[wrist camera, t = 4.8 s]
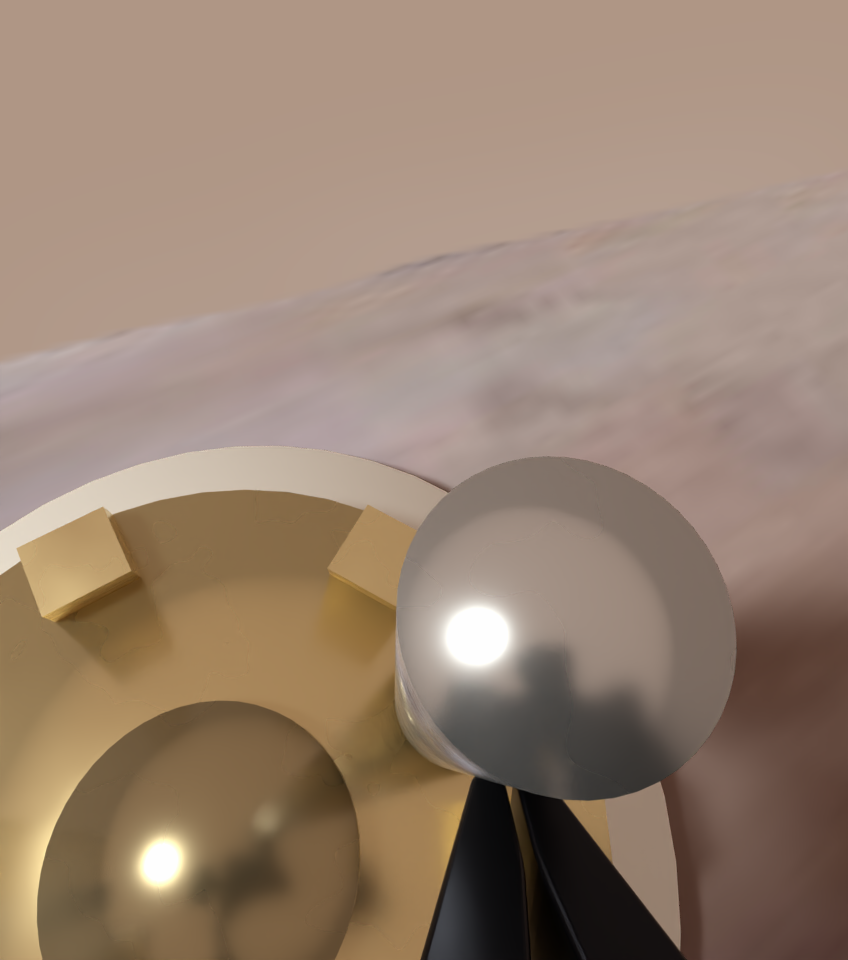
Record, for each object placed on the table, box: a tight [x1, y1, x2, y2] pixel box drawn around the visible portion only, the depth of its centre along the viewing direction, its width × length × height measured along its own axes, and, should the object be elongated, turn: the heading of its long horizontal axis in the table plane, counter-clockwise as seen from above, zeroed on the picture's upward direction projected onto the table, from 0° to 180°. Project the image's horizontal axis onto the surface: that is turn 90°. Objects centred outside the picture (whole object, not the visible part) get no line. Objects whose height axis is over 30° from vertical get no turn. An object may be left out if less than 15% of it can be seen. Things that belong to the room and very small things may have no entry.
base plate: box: [0, 446, 681, 950], centre depth 14 cm, size 20×20×1 cm
